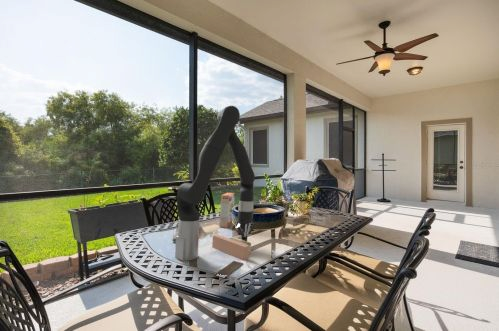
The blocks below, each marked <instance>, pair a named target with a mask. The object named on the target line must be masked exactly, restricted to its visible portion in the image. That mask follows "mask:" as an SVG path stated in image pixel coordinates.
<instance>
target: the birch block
mask: <svg viewBox="0 0 499 331" xmlns="http://www.w3.org/2000/svg"><path fill="white" fill-rule="evenodd" d="M228 238H229V239H232V240H235V241H237V242H240V243H243V244H246V245H249V254H250V253H251V252H252V242H250V241H248V240H247V241H244V240H241V239H240V238H237V237H235V236H233V237H228Z"/></svg>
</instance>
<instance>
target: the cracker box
mask: <svg viewBox="0 0 499 331" xmlns="http://www.w3.org/2000/svg"><path fill="white" fill-rule="evenodd" d="M235 196H236V193H235V192H226V193H223V194H221V198H220V208H219V209H220V213H219V225H218V226H219V228H226V229H228V228H229V227H230V226H231V225H232V224H233V223H232V215H231V210H232V208H233V207H234V208H235Z"/></svg>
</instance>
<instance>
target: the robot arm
mask: <svg viewBox="0 0 499 331" xmlns="http://www.w3.org/2000/svg"><path fill="white" fill-rule="evenodd" d="M240 114H241V113H240V110H239V109H238V107H237V106H234V105H228V106H225V107H224V108H223V109H221V110H220V111H219V112H218V113H217V117H216V118H217V119H216V120H217V122H218V125H217V126H216V128H215V130H214V131H213V132H212V133H211V135H210V136H209V138H208V139H207V140H206V142H205V143H204V145H203V147H202V149H201V151H200V152H199V156H198V172H197V175H196V177H195V179H194V181H193V182H192V183H191V182H183V183H182V184H180V186H179V187H178V189H177V195H176V209H177V211H176V212H177V214H178V215H177V216H178V223H177V224H178V227H177V232H178V236H176V243H175V247H174V248H175V249H174V250H175V252H174V254H175V255H174V258H177V259H178V260H180V261H182V262H185V261H193V260H196V259H198V256H199V241H200V240H199V239H200V222H201V221H200V218H201V217H200V216H201V214H200V212H199V211H198V209H197V208H196V206H198V205H200V204H201V203H202V202H203V200H204V198H205V197H206V194H207V190H208V187H209V185H210V182H211V180H212V179H211V178H212V177H213V174H214V172H215V170H216V167H217V166H218V163H219V162H220V160H221V158H222V155H223V153H224V150H225V148H226V146H227V144H228V145H229V147H230V149H231V153H232V156H233V160H234V163H235V165H236V167H237V170H238V174H239V177H240V179H239V180H240V182H239V183H240V184H239V185H240V190H239V202H238V213H237V219H238V223H237V226H234V229H235V232H236V233H237V235H238V236H240V237H241V240H244V241H247V242H248V236H249V235H251V233H252V231H253V230H254V227H255V226H256V225H255V223H253V219H254V183H255V182H254V181H256V180H255V179H256V175H255V172H254V171H253V168H252V165H251V162H250V158H249V155H248V151H247V149H246V146H245V145H244V143H243V141H242V140H241V139H240V138H239V136H238V134H237V132H236V130H235V127H236V126H237V124H238V123H239V120H240V117H241V116H240Z"/></svg>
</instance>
